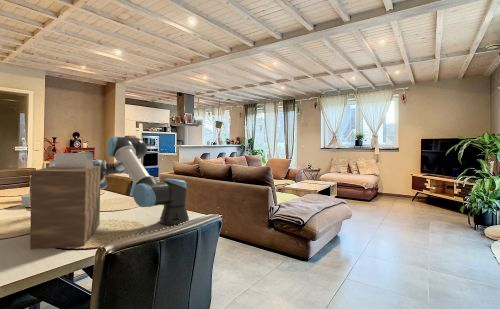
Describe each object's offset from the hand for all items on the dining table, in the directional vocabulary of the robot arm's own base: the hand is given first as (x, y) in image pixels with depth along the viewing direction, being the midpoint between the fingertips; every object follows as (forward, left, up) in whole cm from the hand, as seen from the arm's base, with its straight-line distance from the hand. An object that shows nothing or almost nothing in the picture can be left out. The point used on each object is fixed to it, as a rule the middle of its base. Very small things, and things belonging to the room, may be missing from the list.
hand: (90, 161), depth 152 cm
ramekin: (+47, +6, -31) cm, 56 cm away
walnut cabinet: (-26, +26, -30) cm, 48 cm away
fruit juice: (+60, -11, -31) cm, 68 cm away
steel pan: (-15, +14, 0) cm, 21 cm away
